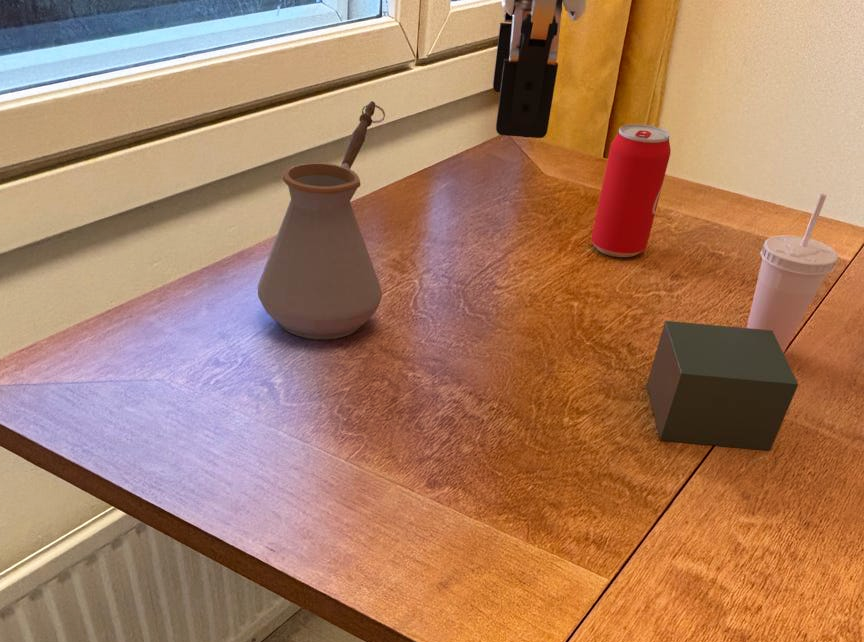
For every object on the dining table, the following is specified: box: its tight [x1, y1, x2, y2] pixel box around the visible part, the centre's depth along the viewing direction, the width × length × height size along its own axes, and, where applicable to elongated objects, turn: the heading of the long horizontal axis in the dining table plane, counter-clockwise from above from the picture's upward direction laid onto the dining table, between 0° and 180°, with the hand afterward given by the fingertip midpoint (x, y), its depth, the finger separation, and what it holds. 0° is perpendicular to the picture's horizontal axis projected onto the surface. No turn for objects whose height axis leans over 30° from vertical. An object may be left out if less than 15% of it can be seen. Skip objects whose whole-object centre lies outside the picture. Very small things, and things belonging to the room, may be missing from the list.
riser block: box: [645, 320, 799, 452], centre depth 74 cm, size 9×9×6 cm
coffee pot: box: [257, 100, 386, 340], centre depth 82 cm, size 21×12×15 cm, turn 164°
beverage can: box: [590, 123, 672, 258], centre depth 96 cm, size 6×6×12 cm
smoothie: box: [746, 193, 839, 353], centre depth 80 cm, size 6×6×14 cm
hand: (517, 112), depth 60 cm, fingers open, 9 cm apart
